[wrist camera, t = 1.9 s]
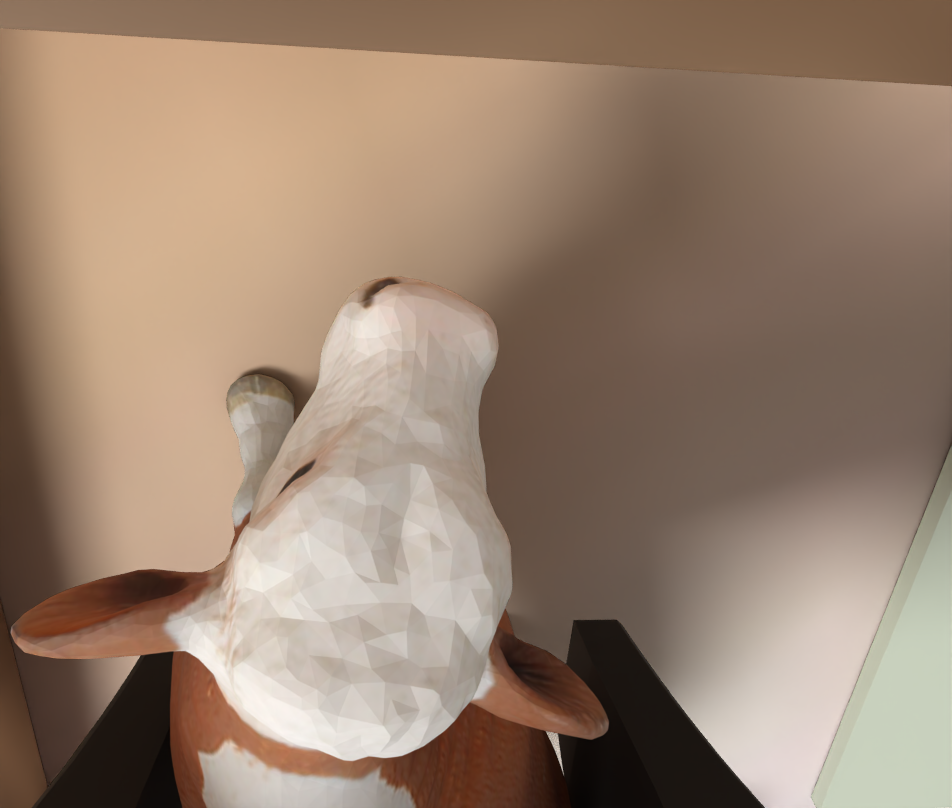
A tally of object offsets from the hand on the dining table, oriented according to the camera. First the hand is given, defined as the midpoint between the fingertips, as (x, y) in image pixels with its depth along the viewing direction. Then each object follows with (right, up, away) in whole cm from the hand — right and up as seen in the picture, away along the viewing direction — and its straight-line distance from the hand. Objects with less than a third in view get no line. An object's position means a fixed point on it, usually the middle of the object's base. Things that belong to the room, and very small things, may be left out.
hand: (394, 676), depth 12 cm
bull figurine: (0, +2, +3) cm, 3 cm away
